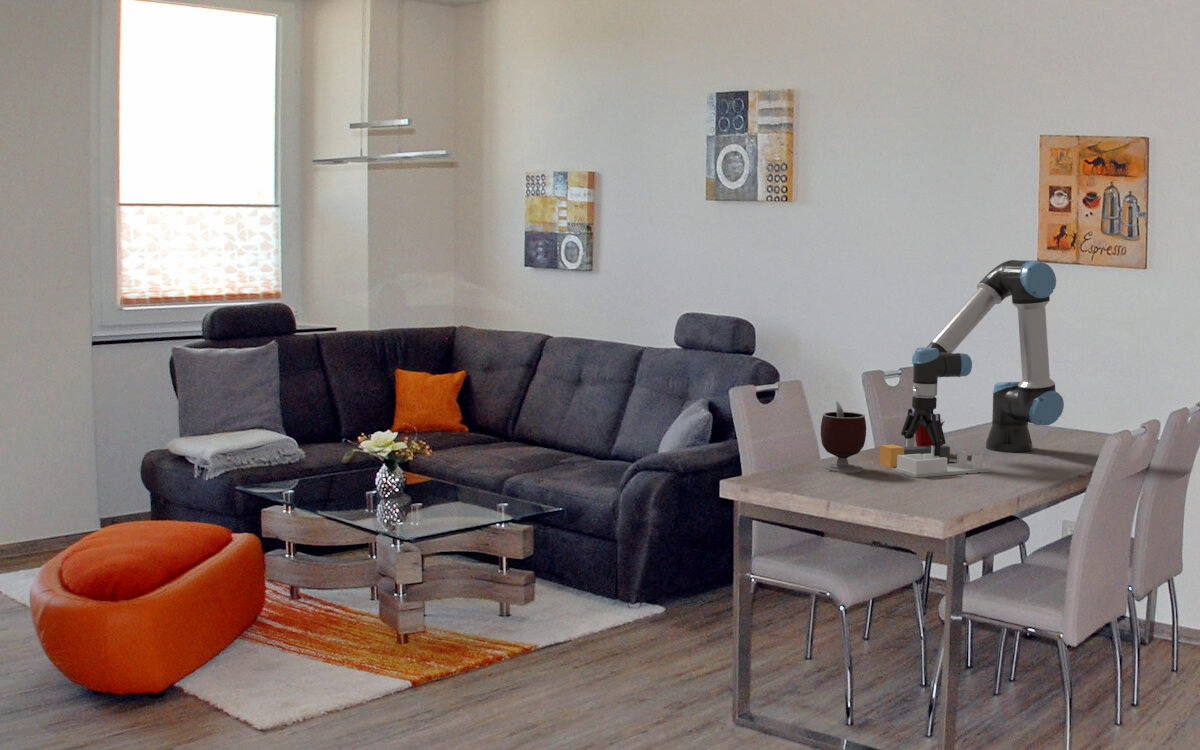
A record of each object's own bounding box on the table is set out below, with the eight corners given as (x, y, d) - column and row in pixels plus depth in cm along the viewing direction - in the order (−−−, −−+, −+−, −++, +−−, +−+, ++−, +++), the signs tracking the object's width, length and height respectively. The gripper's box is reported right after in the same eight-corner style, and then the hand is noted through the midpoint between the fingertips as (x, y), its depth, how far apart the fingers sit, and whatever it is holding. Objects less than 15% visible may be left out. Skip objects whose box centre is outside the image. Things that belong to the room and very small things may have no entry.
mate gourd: (870, 473, 384) (872, 408, 382) (825, 473, 383) (827, 408, 381) (856, 463, 400) (858, 401, 397) (813, 464, 399) (815, 401, 397)
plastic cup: (932, 457, 412) (934, 421, 411) (904, 452, 420) (905, 417, 418) (950, 453, 420) (951, 417, 418) (921, 449, 427) (922, 414, 426)
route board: (967, 465, 398) (967, 449, 397) (989, 471, 388) (990, 455, 387) (895, 470, 388) (895, 455, 388) (916, 477, 378) (916, 461, 377)
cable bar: (940, 459, 408) (940, 441, 408) (950, 462, 403) (951, 444, 403) (880, 463, 400) (880, 445, 399) (890, 467, 395) (890, 448, 394)
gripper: (891, 391, 410) (889, 456, 413) (938, 401, 387) (935, 469, 390) (911, 391, 413) (908, 454, 415) (958, 400, 390) (956, 468, 392)
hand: (921, 462), depth 402 cm, fingers open, 13 cm apart
